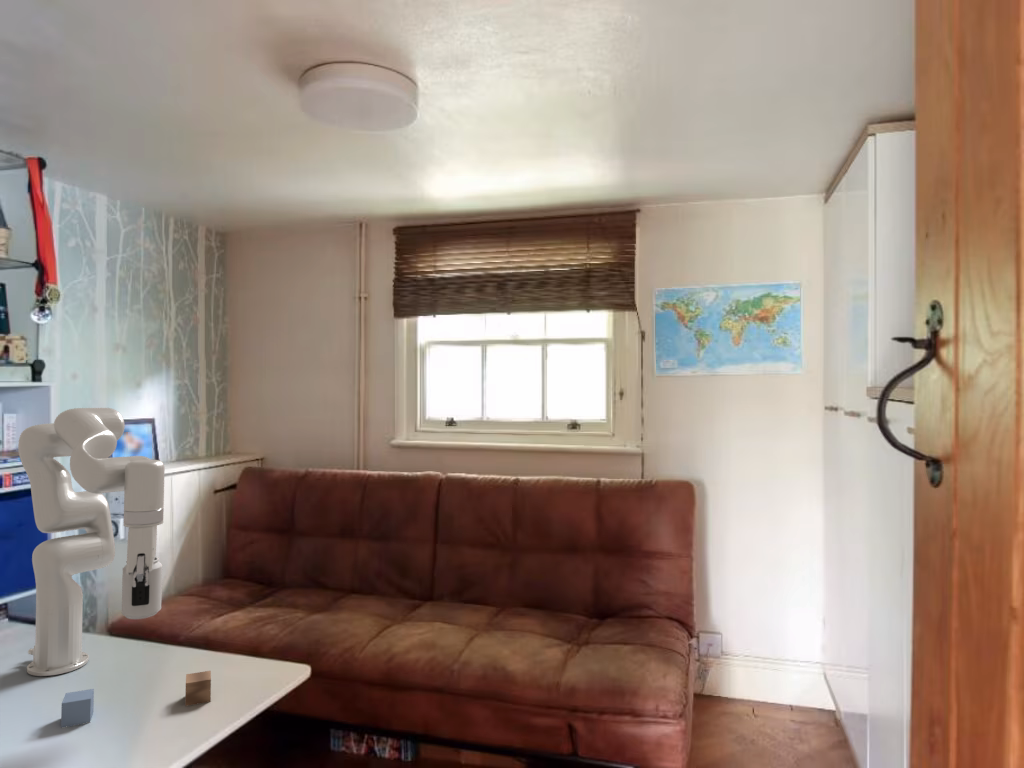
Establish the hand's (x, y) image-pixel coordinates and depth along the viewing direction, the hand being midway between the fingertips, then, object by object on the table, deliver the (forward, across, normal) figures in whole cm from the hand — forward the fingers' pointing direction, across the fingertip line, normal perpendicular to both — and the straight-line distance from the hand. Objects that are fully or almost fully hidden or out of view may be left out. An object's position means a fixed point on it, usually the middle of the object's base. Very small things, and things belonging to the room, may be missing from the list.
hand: (141, 598), depth 142 cm
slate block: (+24, 0, -11) cm, 26 cm away
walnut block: (+24, 0, +12) cm, 26 cm away
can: (+4, 0, 0) cm, 4 cm away
